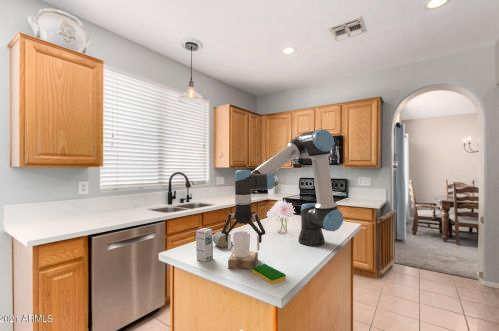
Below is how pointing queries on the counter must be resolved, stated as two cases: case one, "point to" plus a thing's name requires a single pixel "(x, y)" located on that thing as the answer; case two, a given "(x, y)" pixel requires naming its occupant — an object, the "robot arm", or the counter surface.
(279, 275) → the dish sponge
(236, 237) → the white cup
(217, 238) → the ceramic mug
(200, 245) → the syrup box
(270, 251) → the counter surface
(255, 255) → the walnut plinth
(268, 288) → the counter surface
